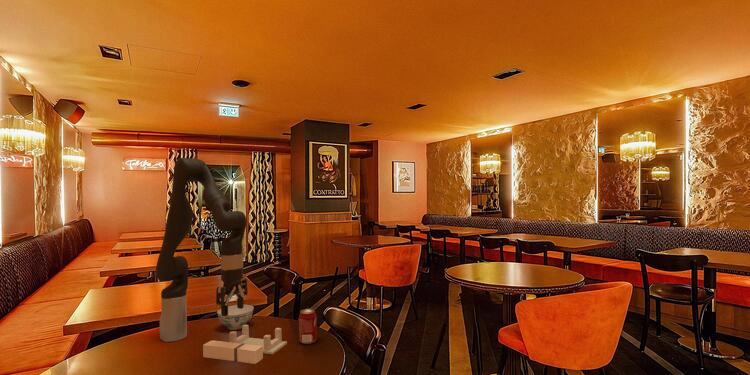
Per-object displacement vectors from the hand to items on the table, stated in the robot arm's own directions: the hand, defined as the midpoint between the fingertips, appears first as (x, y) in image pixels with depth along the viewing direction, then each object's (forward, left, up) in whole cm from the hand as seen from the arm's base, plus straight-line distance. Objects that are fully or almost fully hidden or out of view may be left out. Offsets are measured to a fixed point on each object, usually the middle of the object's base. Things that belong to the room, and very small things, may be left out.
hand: (232, 311), depth 135 cm
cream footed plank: (+2, +11, -16) cm, 20 cm away
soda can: (+19, +20, -16) cm, 32 cm away
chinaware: (-20, +27, -16) cm, 37 cm away
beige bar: (0, 0, -16) cm, 16 cm away
